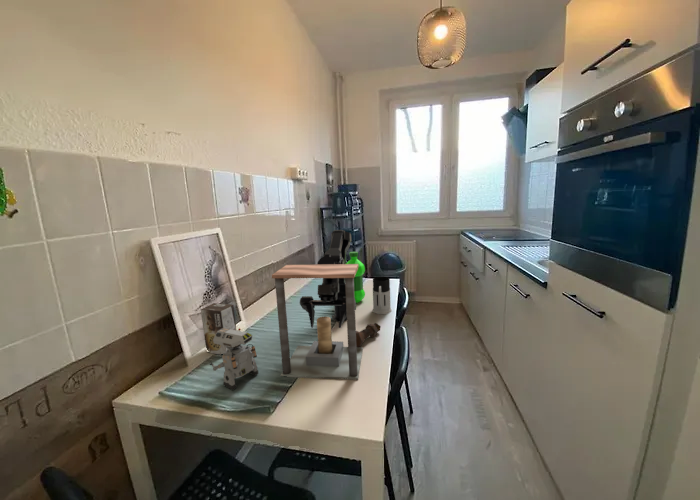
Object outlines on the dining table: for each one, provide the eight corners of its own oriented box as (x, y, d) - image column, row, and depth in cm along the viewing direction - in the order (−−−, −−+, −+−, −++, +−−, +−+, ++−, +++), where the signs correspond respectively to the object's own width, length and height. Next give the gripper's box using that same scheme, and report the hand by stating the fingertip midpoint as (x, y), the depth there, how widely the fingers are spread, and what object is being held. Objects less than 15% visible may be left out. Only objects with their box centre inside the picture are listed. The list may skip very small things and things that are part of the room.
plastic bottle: (342, 299, 151) (339, 252, 147) (360, 296, 155) (358, 249, 151) (350, 305, 142) (348, 255, 138) (369, 302, 146) (368, 252, 142)
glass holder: (391, 307, 138) (391, 276, 135) (390, 319, 124) (390, 285, 122) (373, 306, 140) (372, 276, 137) (370, 318, 126) (369, 285, 123)
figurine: (238, 365, 94) (233, 321, 91) (262, 376, 87) (257, 329, 85) (211, 380, 86) (205, 332, 84) (235, 393, 80) (229, 342, 77)
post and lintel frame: (298, 347, 104) (291, 261, 98) (362, 348, 101) (359, 260, 95) (280, 376, 87) (271, 274, 81) (358, 379, 84) (354, 274, 78)
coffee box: (239, 347, 106) (234, 304, 103) (226, 356, 100) (221, 311, 97) (219, 343, 109) (214, 302, 106) (205, 352, 103) (199, 308, 100)
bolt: (379, 336, 113) (357, 350, 101) (369, 328, 115) (346, 340, 103) (385, 325, 111) (363, 338, 99) (375, 316, 113) (353, 328, 101)
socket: (314, 350, 101) (313, 340, 100) (343, 351, 100) (343, 341, 99) (306, 367, 91) (305, 356, 90) (339, 368, 90) (338, 357, 89)
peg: (316, 358, 95) (313, 320, 92) (324, 352, 98) (322, 315, 96) (327, 362, 92) (325, 323, 90) (335, 355, 96) (333, 318, 94)
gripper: (299, 273, 99) (291, 317, 90) (353, 273, 97) (351, 318, 88) (306, 288, 108) (300, 330, 99) (357, 288, 106) (355, 331, 97)
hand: (325, 327), depth 96 cm, fingers open, 9 cm apart
